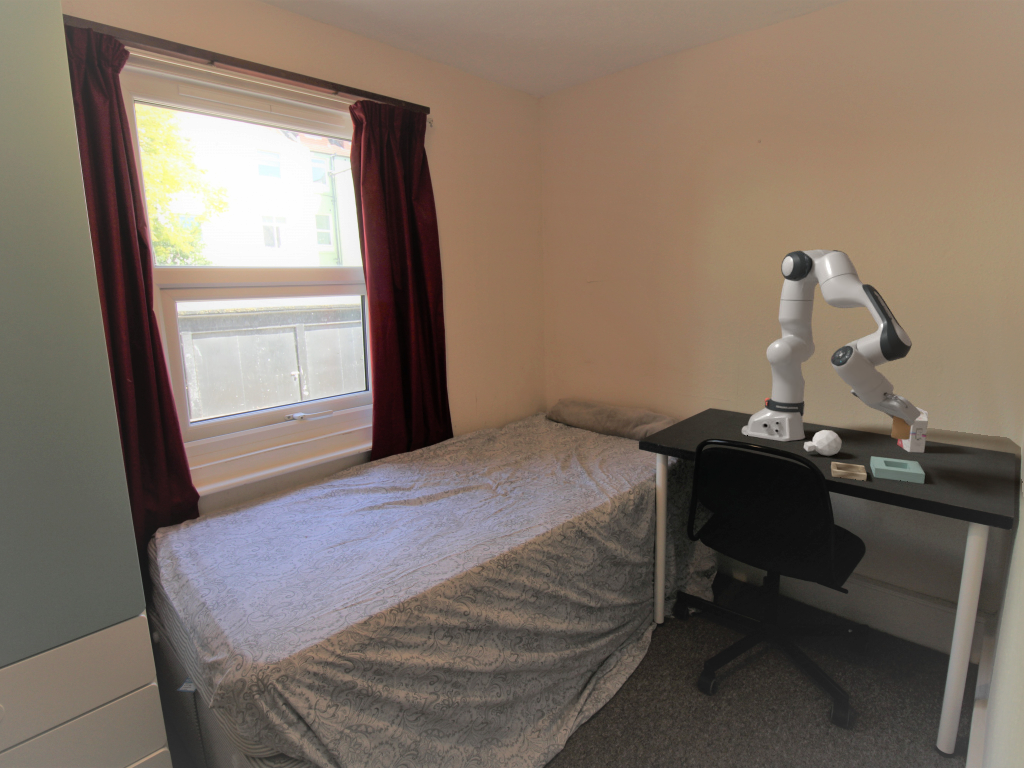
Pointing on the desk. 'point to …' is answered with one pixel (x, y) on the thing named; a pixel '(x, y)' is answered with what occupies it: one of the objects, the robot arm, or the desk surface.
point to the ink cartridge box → (916, 434)
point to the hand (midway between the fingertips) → (904, 421)
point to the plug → (900, 429)
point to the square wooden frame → (848, 471)
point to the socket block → (897, 469)
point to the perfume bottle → (824, 443)
